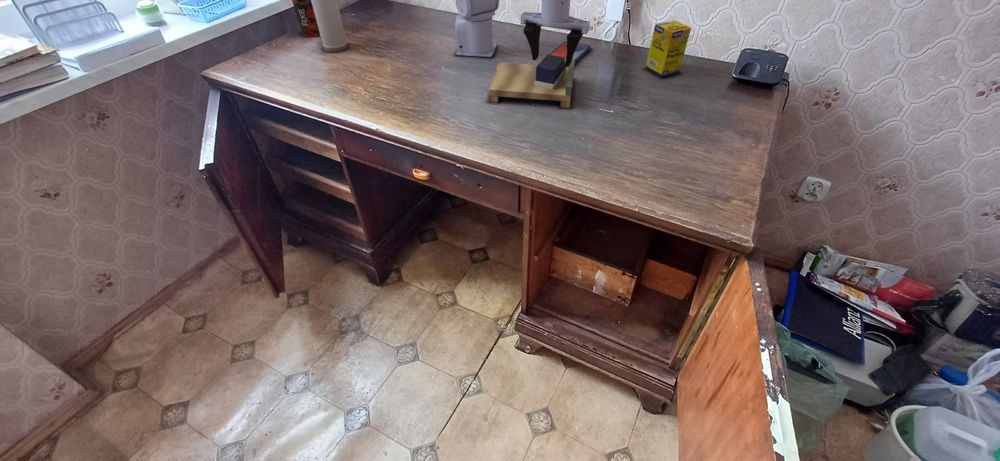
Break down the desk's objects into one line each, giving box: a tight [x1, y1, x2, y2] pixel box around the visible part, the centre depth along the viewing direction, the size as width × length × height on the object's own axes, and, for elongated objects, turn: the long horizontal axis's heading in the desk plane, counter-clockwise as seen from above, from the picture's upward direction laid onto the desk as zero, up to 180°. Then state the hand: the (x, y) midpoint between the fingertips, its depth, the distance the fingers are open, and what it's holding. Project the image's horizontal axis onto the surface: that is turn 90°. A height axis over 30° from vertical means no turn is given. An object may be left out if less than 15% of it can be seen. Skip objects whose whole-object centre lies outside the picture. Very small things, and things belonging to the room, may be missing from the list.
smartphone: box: [549, 40, 591, 67], centre depth 121 cm, size 7×15×1 cm, turn 151°
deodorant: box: [291, 0, 320, 38], centre depth 129 cm, size 6×6×15 cm
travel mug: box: [311, 0, 349, 53], centre depth 119 cm, size 6×7×20 cm
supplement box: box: [645, 19, 692, 78], centre depth 111 cm, size 6×6×11 cm
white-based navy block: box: [534, 53, 566, 89], centre depth 104 cm, size 9×4×4 cm, turn 156°
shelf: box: [488, 59, 576, 109], centre depth 106 cm, size 18×14×5 cm
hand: (551, 61), depth 103 cm, fingers open, 7 cm apart
